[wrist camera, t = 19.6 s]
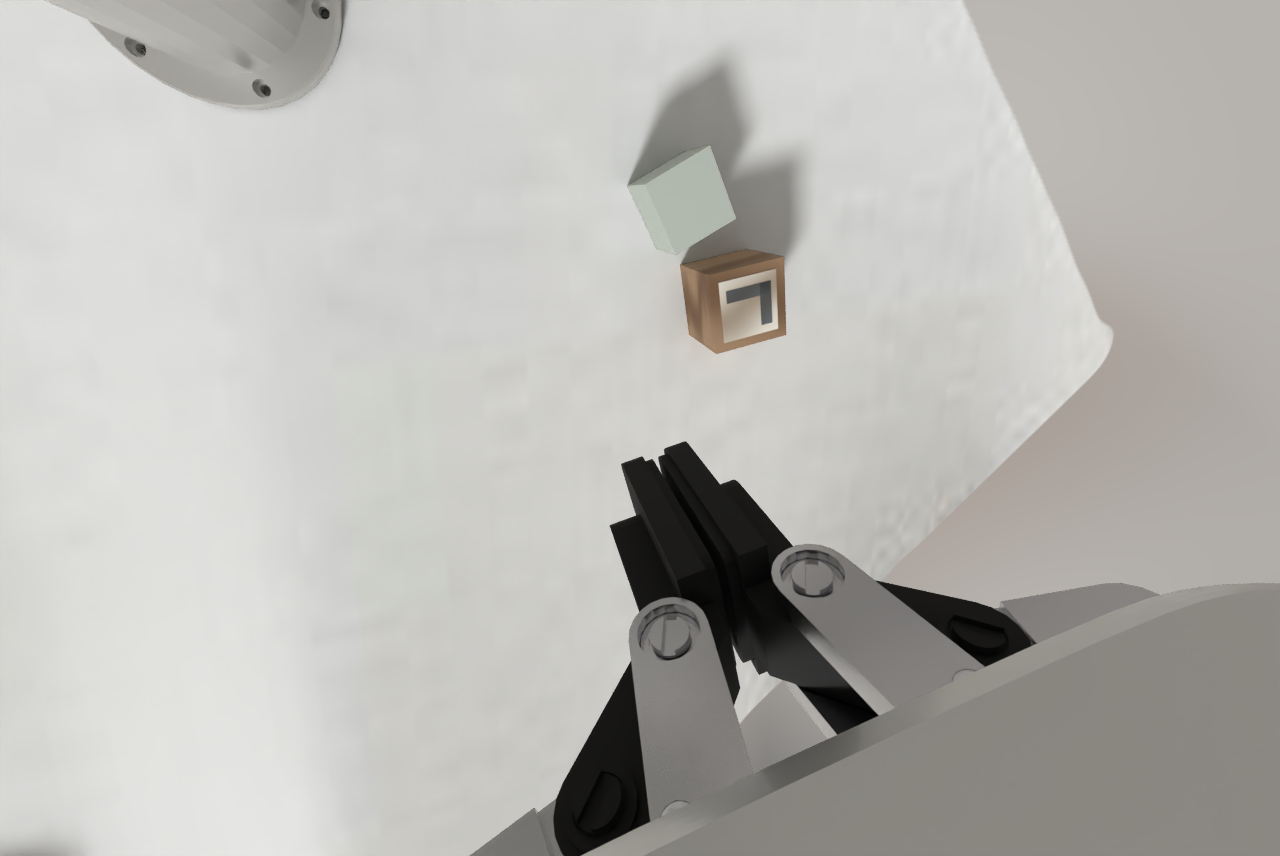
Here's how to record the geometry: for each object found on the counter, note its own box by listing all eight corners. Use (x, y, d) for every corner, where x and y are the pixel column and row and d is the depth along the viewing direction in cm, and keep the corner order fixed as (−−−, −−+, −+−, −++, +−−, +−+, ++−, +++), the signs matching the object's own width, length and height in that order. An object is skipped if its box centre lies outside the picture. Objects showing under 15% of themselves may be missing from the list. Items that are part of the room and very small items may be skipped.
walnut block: (784, 256, 34) (746, 248, 40) (708, 275, 33) (679, 264, 39) (786, 335, 37) (750, 318, 43) (717, 354, 36) (688, 334, 42)
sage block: (626, 186, 35) (645, 184, 31) (683, 151, 35) (710, 145, 31) (655, 248, 38) (676, 255, 33) (708, 216, 38) (736, 218, 33)
